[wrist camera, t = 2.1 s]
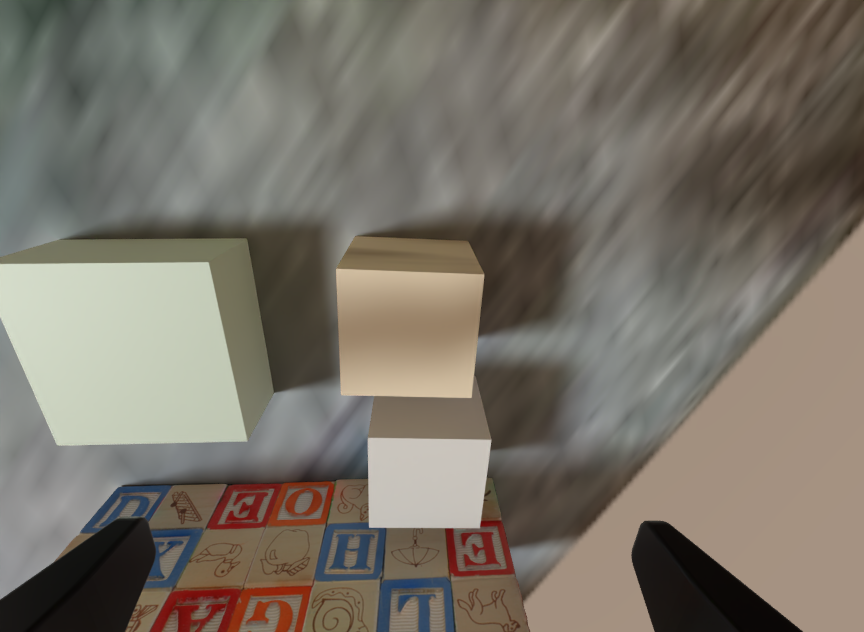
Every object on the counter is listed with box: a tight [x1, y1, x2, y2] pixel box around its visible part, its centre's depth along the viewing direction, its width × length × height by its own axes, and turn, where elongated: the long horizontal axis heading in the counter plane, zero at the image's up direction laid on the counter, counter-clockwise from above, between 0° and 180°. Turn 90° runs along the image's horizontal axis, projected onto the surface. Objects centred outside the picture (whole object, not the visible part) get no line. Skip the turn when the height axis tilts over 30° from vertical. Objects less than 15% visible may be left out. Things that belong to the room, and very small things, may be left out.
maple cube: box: [336, 236, 484, 398], centre depth 17 cm, size 5×5×5 cm
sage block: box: [0, 238, 274, 446], centre depth 18 cm, size 8×8×4 cm
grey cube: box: [368, 376, 491, 528], centre depth 20 cm, size 5×5×5 cm
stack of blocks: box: [54, 478, 530, 632], centre depth 20 cm, size 21×6×12 cm, turn 90°
